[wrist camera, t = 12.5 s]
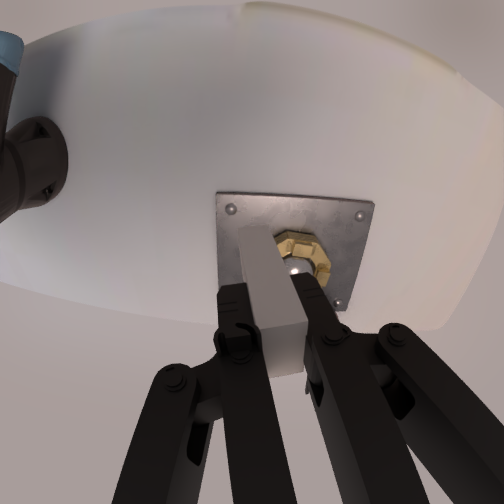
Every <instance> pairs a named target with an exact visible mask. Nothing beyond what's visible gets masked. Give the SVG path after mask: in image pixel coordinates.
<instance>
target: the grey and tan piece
mask: <svg viewBox="0 0 504 504" xmlns="http://www.w3.org/2000/svg"><path fill="white" fill-rule="evenodd" d="M274 240H275V242H276V245H277V247H278V249H279V252H280V254H281V256H282V257H284V256H285V255H287V254H289V253H292V256H298V257H305V258H311V260H312V261H313V264H312V271H313V276H314V277H315V278H317V280H318V282H319V284H320V286H321V288H322V287H326V284H327V281H328V279H329V276H330V274H331V273H330V267H331V262H330V260H329V257H328V255H327V254H326V252H325V250H324V249H323V247H322V246H321V244H320V243H319V241H318V239H317V238H316V236H315V235H309V234H303V233H297V232H291V231H287V232H286V231H285V232H284V233H282V234H280V235H279V236H277V237H276V238H274ZM331 307H332V306H331ZM332 309H333V308H332ZM333 311H334V309H333ZM334 312H335V311H334ZM335 314H336V312H335ZM336 316H337V314H336ZM337 318H338V316H337ZM338 320H339V319H338Z"/></svg>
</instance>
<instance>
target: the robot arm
mask: <svg viewBox="0 0 504 504" xmlns="http://www.w3.org/2000/svg"><path fill="white" fill-rule="evenodd" d="M23 51H24V43H23V41H22V39H21V38H20V37H18V36H17V35H14V34H12V33H8V32H4V31H0V223H1V222H3V221H4V220H5V219H7V218H8V217H9V216H11V215H12V214H13V213H15V212H16V211H18V210H22V209H27V208H33V207H39V206H42V205H44V204H46V203H48V202H49V201H50V200H52V199H53V198H55V197H56V196H57V195H58V194H59V192H60V191H61V189H62V187H63V185H64V183H65V180H66V175H67V169H68V156H67V149H66V144H65V141H64V138H63V136H62V134H61V132H60V130H59V129H58V127H57V126H56V125H55V124H54V123H53V122H52V121H51V120H49V119H48V118H45V117H41V116H37V117H32V118H28V119H25V120H23V121H21V122H19V123H18V124H17V125H16V126H14V127H13V128H12V129H11V130H9V131H8V132H7V133H6V134H5V132H6V126H7V119H8V114H9V108H10V103H11V99H12V94H13V90H14V86H15V82H16V78H17V77H18V75H19V71H18V69H19V65H20V61H21V58H22V54H23ZM237 234H238V242H239V250H240V259H241V267H242V275H243V280H244V283H237V284H230V285H223V286H221V288H220V289H219V291H218V293H217V309H218V326H219V328H218V329H217V331H216V332H215V334H214V339H213V341H214V345H215V348H216V351H217V353H216V354H215V355H214V357H213V358H211V359H210V360H209V361H207V362H205V363H203V364H201V365H198V366H195V367H193V368H190V367H189V366H187V365H184V364H181V363H179V364H170V365H167V366H165V367H163V368H162V369H161V370H160V371H158V373H157V374H156V376H155V377H154V380H153V382H152V385H151V388H150V390H149V393H148V396H147V398H146V401H145V404H144V407H143V409H142V412H141V415H140V417H139V420H138V423H137V426H136V429H135V432H134V435H133V437H132V440H131V443H130V446H129V449H128V452H127V456H126V458H125V461H124V465H123V468H122V471H121V474H120V477H119V481H118V483H117V487H116V490H115V493H114V497H113V500H112V504H197V502H198V497H199V492H200V488H201V482H202V478H203V472H204V468H205V463H206V458H207V453H208V448H209V444H210V439H211V434H212V429H213V424H214V421H215V420H218V419H220V418H223V420H224V430H225V440H226V448H227V457H228V465H229V473H230V481H231V489H232V496H233V502H234V504H297V501H296V496H295V492H294V487H293V483H292V479H291V475H290V470H289V466H288V462H287V457H286V453H285V449H284V445H283V440H282V435H281V432H280V427H279V422H278V418H277V413H276V409H275V405H274V400H273V395H272V391H271V386H270V382H269V378H273V377H279V376H284V375H289V374H294V373H299V372H303V370H304V365H305V368H306V371H307V382H306V388H305V393H306V394H308V393H309V392H310V395H311V399H312V402H313V405H314V408H315V412H316V414H317V418H318V421H319V424H320V428H321V431H322V435H323V437H324V441H325V444H326V448H327V451H328V454H329V458H330V461H331V464H332V468H333V471H334V475H335V478H336V481H337V485H338V488H339V492H340V495H341V498H342V502H343V504H430V503H429V500H428V498H427V495H426V492H425V490H424V487H423V484H422V481H421V479H420V476H419V474H418V471H417V470H416V466H415V464H414V461H413V459H412V456H411V454H410V452H409V449H408V447H407V445H408V446H409V447H410V449H411V450H412V451H413V452H414V454H415V455H416V456H417V458H418V459H419V460H420V461H421V463H422V464H423V465H424V466H425V468H426V469H427V470H428V471H429V473H430V474H431V475H432V477H433V478H434V479H435V480H436V482H437V483H438V484H439V486H440V487H441V488H442V489H443V491H444V492H445V493H446V494H447V496H448V497H449V498H450V499H451V501H452V502H453V503H454V504H504V426H503V425H502V423H501V422H500V421H499V420H498V419H497V418H496V417H495V415H494V414H493V413H492V412H491V411H490V410H489V409H488V408H487V407H486V405H485V404H484V403H483V402H482V401H481V400H480V399H479V398H478V397H477V396H476V394H474V392H473V391H472V390H471V389H470V388H469V387H468V386H467V385H466V384H465V383H464V382H463V381H462V380H461V379H460V378H459V377H458V376H457V375H456V374H455V373H454V372H453V370H452V369H451V368H450V367H449V366H448V365H447V364H446V363H445V362H444V361H443V360H442V359H441V358H440V357H439V356H438V355H437V354H436V353H435V352H434V351H432V349H431V348H429V347H428V346H427V345H426V344H425V343H424V342H423V341H422V340H421V339H420V338H419V337H418V336H417V335H416V334H415V333H414V332H413V331H412V330H411V329H409V328H408V327H407V326H405V325H403V324H399V323H389V324H386V325H384V326H383V327H382V328H381V329H380V330H379V333H378V334H364V333H356V332H352V331H351V329H350V328H349V327H347V326H346V325H344V324H342V323H340V322H339V320H338V318H337V316H336V314H335V312H334V311H333V309H332V307H331V305H330V303H329V301H328V299H327V297H326V296H325V293H324V291H323V290H322V289H321V286H320V284H319V282H318V280H317V278H315V277H314V276H313V275H311V274H310V273H309V272H304V273H298V274H292V275H289V273H288V270H287V268H286V266H285V263H284V261H283V259H282V256H281V254H280V252H279V249H278V247H277V245H276V242H275V240H274V238H273V235H272V233H271V231H270V229H269V226H268V224H265V225H257V226H249V227H242V228H237Z"/></svg>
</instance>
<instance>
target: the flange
mask: <svg viewBox="0 0 504 504" xmlns="http://www.w3.org/2000/svg"><path fill="white" fill-rule="evenodd" d="M374 207H375V204H374V203H373V202H369V201H360V200H350V199H339V198H327V197H314V196H300V195H284V194H263V193H235V192H217V194H216V217H217V254H218V280H219V289H220V288H221V286H223V285H230V284H237V283H244V280H243V275H242V267H241V259H240V250H239V242H238V234H237V228H242V227H249V226H257V225H265V224H268V226H269V229H270V231H271V233H272V235H273V238H276V237H277V236H279V235H280V234H282V233H284V232H285V231H286V232H287V231H291V232H297V233H303V234H309V235H315V236H316V238H317V239H318V241H319V243H320V244H321V246H322V247H323V249H324V250H325V252H326V254H327V255H328V257H329V260H330V262H331V267H330V273H331V274H330V276H329V279H328V281H327V284H326V287H322V288H321V289H322V290H323V291H324V293H325V296H326V297H327V299H328V301H329V303H330V305H331V306H332V308H333V309H334V311H346V309H347V306H348V303H349V300H350V297H351V294H352V291H353V288H354V284H355V281H356V278H357V274H358V271H359V267H360V264H361V260H362V256H363V253H364V249H365V245H366V241H367V237H368V233H369V229H370V225H371V220H372V216H373V211H374ZM282 259H283V261H284V263H285V266H286V268H287V270H288V273H289V275H292V274H298V273H304V272H309V273H310V274H311V275H313V271H312V264H313V261H312V260H311V258H305V257H298V256H292V253H289V254H287V255H285V256H284V257H282Z"/></svg>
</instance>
